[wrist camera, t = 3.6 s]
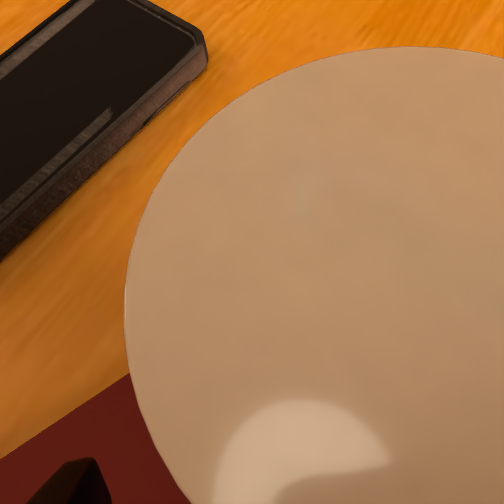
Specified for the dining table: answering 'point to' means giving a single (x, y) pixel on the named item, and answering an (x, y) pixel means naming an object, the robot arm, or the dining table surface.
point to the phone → (83, 98)
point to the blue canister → (331, 288)
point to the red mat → (95, 452)
